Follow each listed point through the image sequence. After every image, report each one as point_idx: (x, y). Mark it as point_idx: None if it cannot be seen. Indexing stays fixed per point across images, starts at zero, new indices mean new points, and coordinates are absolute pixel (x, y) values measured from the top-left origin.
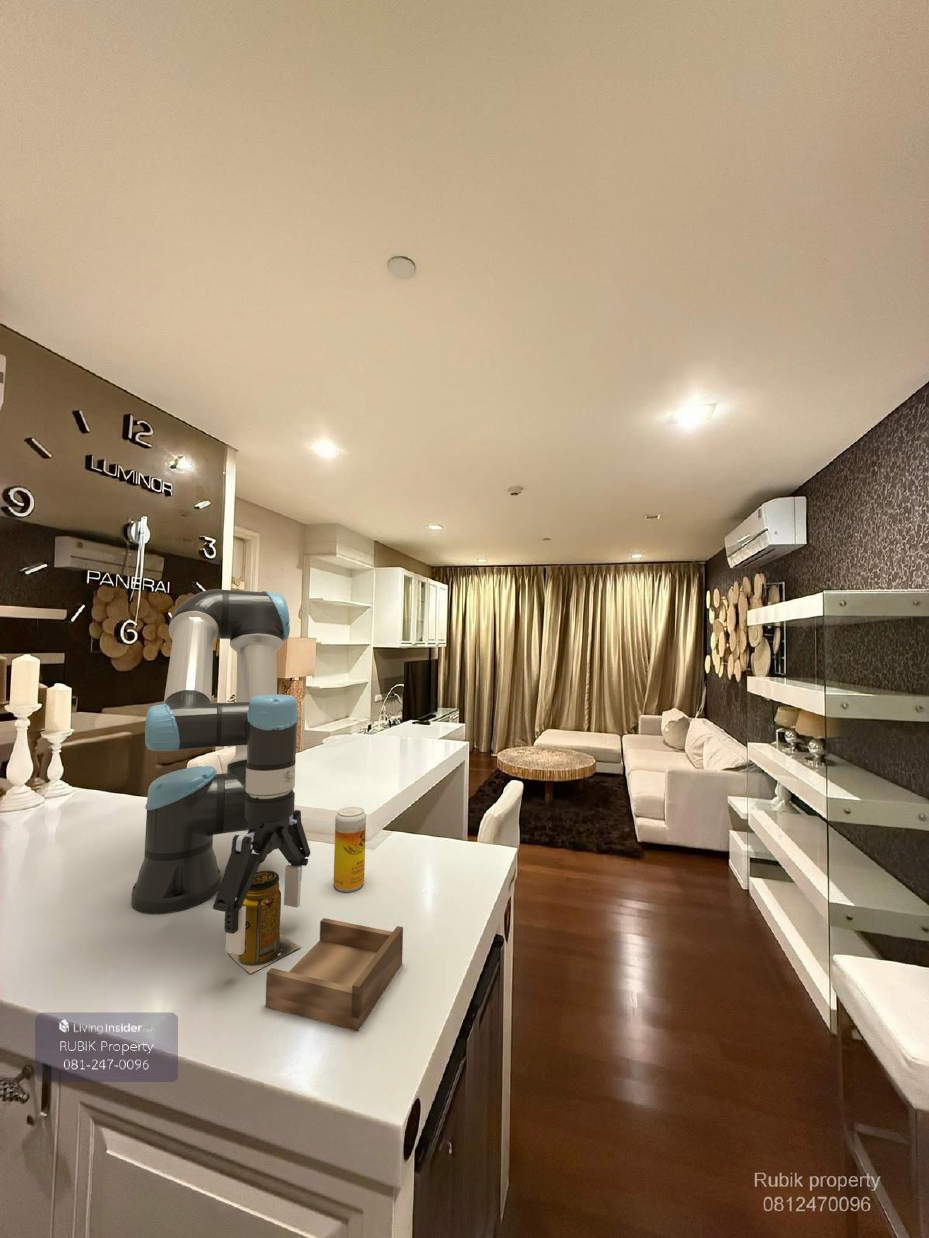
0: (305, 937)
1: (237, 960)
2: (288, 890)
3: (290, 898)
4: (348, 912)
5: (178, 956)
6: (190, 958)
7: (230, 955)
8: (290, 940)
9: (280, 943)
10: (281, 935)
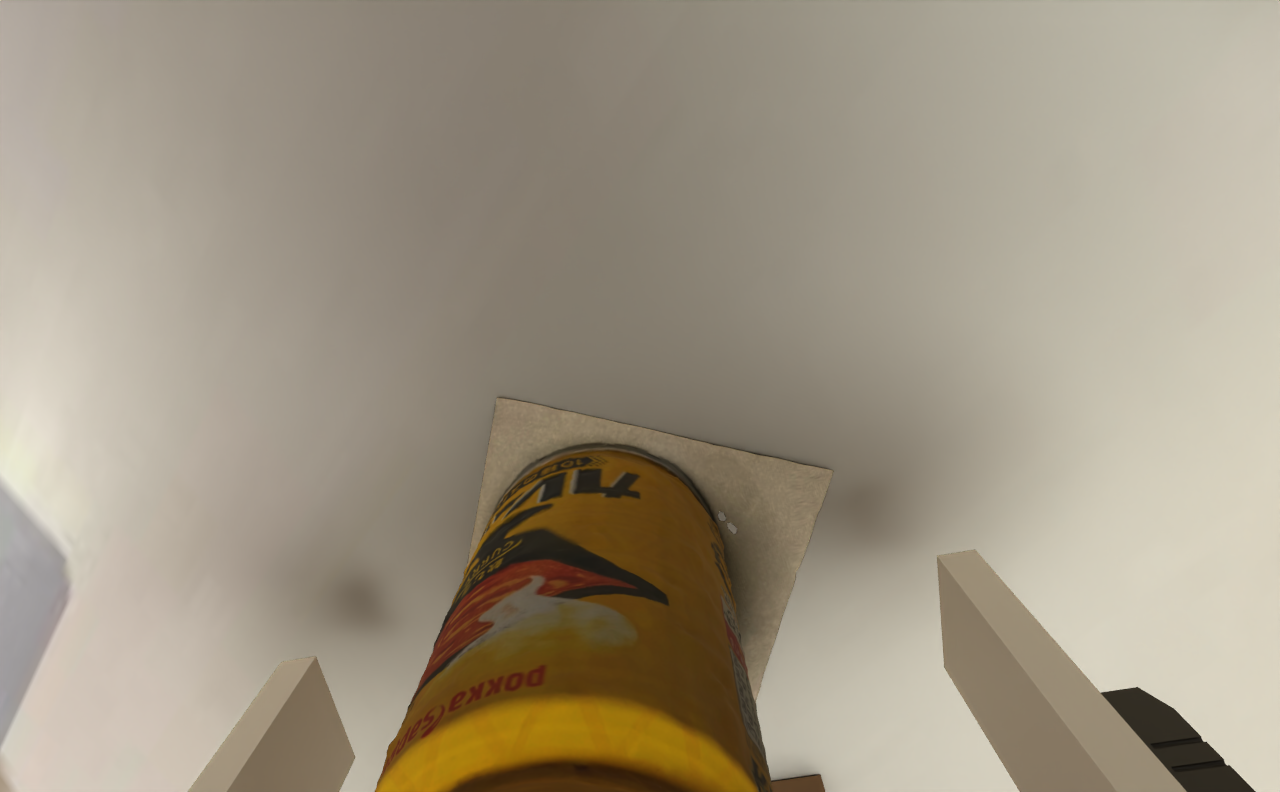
0: (849, 652)
1: (489, 499)
2: (1000, 677)
3: (967, 651)
4: (1183, 689)
5: (293, 120)
6: (333, 220)
7: (494, 428)
8: (785, 605)
9: (734, 581)
10: (801, 527)
